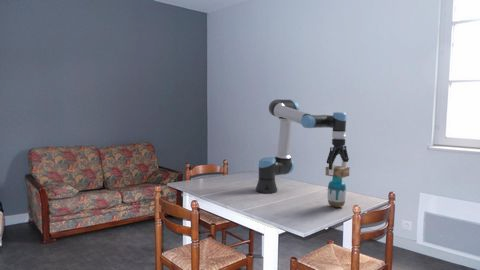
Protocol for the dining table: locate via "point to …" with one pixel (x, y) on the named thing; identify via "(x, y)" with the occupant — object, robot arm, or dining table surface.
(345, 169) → the brown rectangular block
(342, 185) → the vase
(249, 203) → the dining table surface
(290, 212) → the dining table surface
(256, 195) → the dining table surface
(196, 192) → the dining table surface
